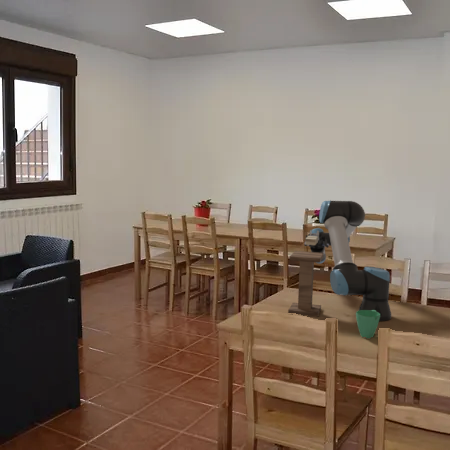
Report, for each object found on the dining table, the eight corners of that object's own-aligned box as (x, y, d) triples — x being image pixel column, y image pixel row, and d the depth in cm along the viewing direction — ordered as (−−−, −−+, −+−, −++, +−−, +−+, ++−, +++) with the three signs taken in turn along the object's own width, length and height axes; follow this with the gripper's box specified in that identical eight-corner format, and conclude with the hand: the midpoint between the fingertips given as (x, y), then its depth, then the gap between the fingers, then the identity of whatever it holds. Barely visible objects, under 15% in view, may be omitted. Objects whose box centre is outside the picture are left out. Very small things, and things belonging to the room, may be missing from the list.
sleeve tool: (315, 245, 272) (315, 239, 271) (305, 244, 273) (305, 238, 273) (320, 239, 293) (320, 233, 292) (310, 238, 294) (310, 233, 294)
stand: (317, 317, 256) (320, 258, 253) (287, 314, 260) (289, 256, 257) (321, 308, 272) (323, 252, 268) (293, 306, 275) (295, 250, 272)
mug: (375, 341, 224) (376, 318, 223) (351, 337, 229) (352, 314, 228) (384, 332, 236) (386, 309, 235) (362, 328, 241) (363, 306, 240)
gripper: (331, 256, 303) (329, 240, 282) (302, 254, 307) (297, 238, 286) (332, 243, 306) (330, 227, 285) (303, 241, 310) (299, 225, 289)
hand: (314, 232), depth 286 cm, fingers closed on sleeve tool, 3 cm apart
